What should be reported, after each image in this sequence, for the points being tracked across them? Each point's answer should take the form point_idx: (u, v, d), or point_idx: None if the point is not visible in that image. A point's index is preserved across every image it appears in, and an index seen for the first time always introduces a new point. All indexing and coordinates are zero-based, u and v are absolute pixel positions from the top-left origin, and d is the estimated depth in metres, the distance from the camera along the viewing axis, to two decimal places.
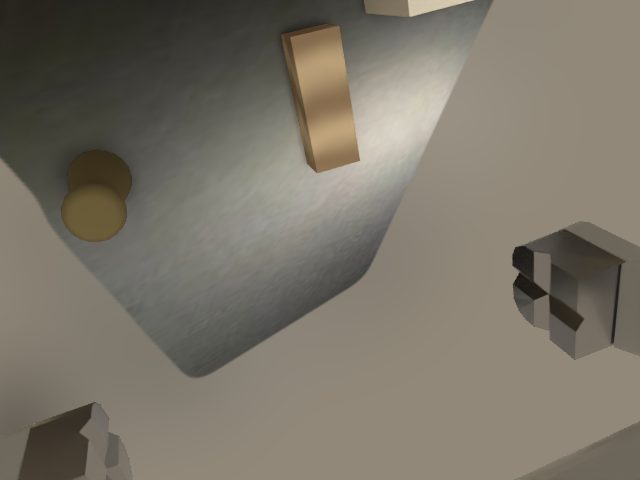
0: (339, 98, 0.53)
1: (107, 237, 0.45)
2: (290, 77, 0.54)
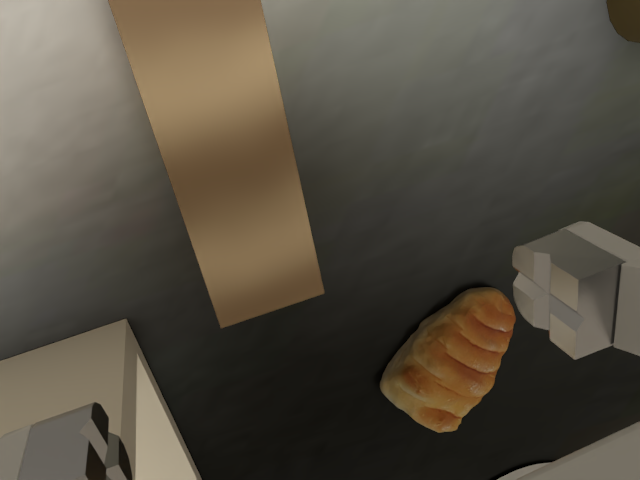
0: (203, 180, 0.21)
1: None
2: None
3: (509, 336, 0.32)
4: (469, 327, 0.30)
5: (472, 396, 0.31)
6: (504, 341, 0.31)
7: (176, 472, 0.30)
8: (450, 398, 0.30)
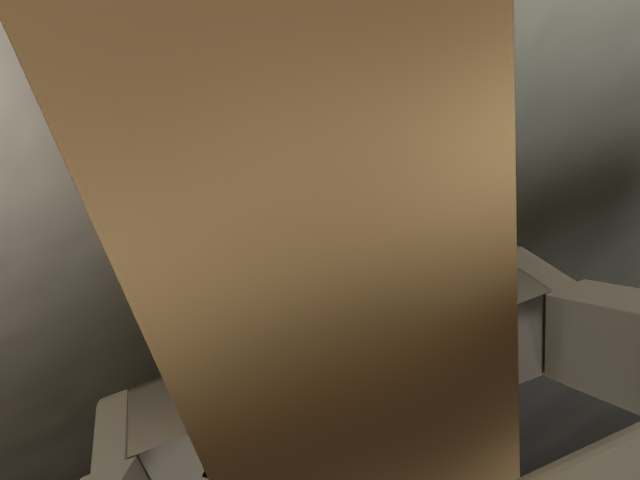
0: (296, 469, 0.08)
1: None
2: None
3: None
4: None
5: None
6: None
7: None
8: None
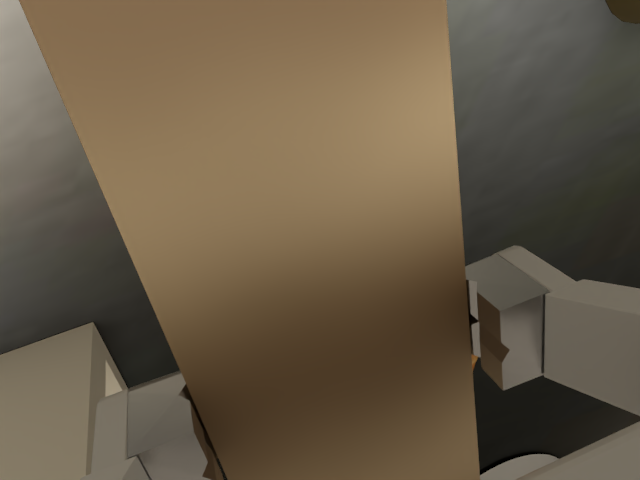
0: (273, 401, 0.09)
1: None
2: None
3: None
4: None
5: None
6: None
7: None
8: None
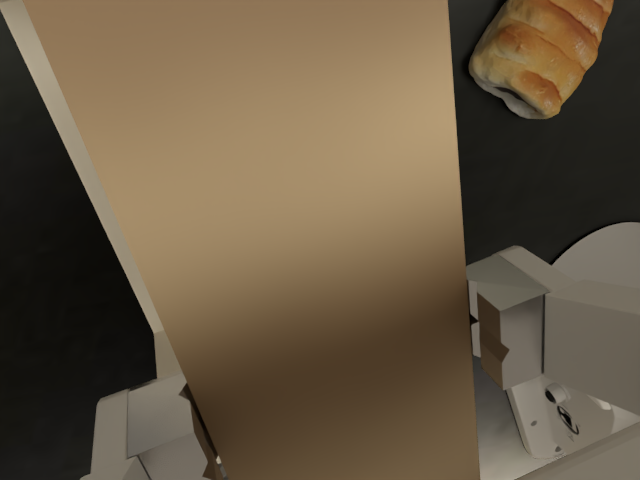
0: (274, 398, 0.09)
1: None
2: None
3: None
4: None
5: (576, 60, 0.28)
6: None
7: None
8: (554, 58, 0.27)
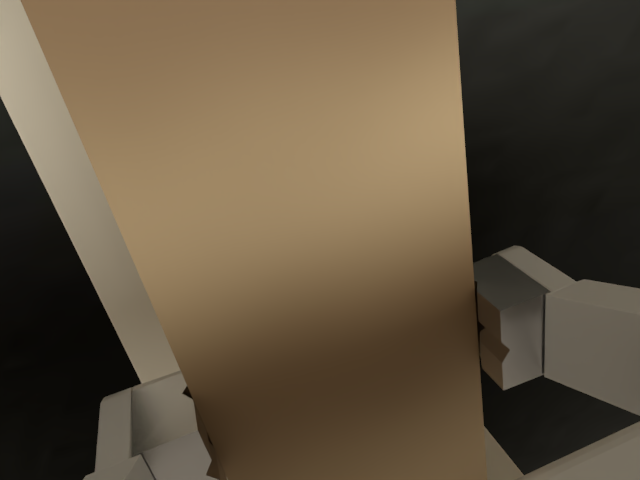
0: (277, 407, 0.09)
1: None
2: None
3: None
4: None
5: None
6: None
7: None
8: None
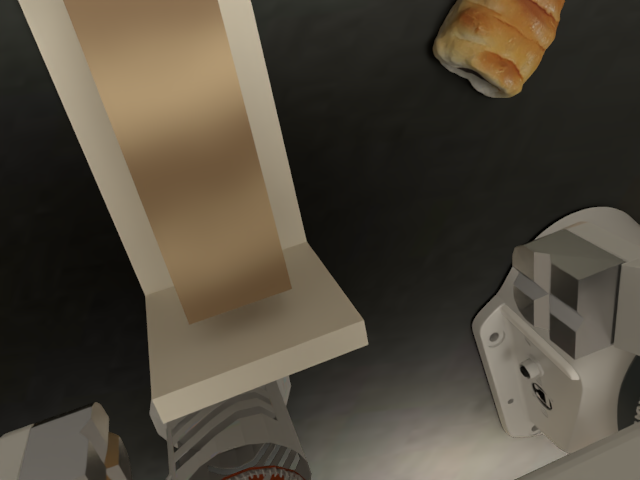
0: (166, 180, 0.21)
1: None
2: None
3: None
4: None
5: (534, 40, 0.29)
6: None
7: (260, 110, 0.28)
8: (512, 38, 0.28)
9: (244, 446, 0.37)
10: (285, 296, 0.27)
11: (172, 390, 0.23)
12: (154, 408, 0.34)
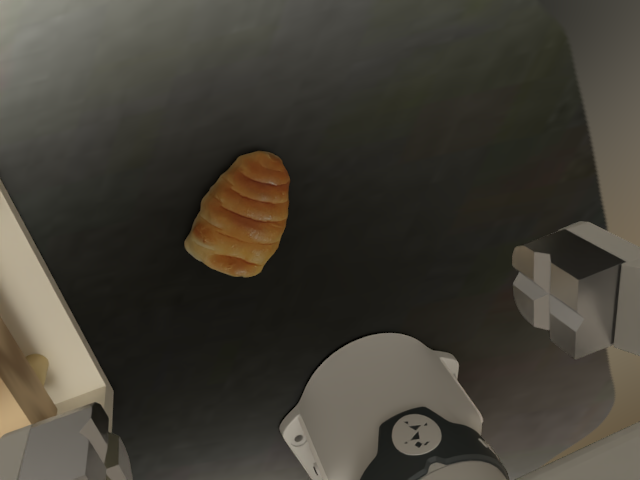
0: None
1: None
2: (28, 371, 0.34)
3: (284, 190, 0.38)
4: (237, 182, 0.36)
5: (255, 242, 0.37)
6: (278, 194, 0.37)
7: (46, 302, 0.37)
8: (234, 244, 0.37)
9: None
10: None
11: None
12: None
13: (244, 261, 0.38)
